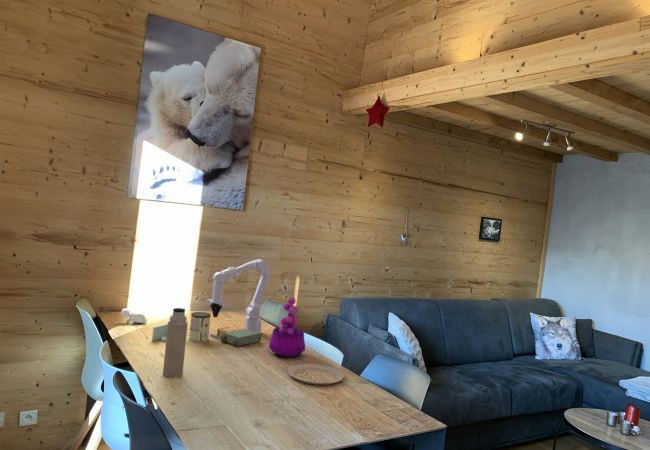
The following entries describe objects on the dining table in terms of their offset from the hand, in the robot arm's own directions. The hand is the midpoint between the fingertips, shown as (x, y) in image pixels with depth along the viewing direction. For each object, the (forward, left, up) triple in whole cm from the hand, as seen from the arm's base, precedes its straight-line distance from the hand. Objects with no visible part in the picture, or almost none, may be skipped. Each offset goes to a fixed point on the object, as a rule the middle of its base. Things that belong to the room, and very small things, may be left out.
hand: (215, 316), depth 276 cm
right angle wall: (+30, -1, -10) cm, 32 cm away
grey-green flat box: (0, +16, -9) cm, 19 cm away
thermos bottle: (+60, +42, -10) cm, 74 cm away
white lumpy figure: (+25, -42, -10) cm, 49 cm away
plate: (+12, +82, -10) cm, 83 cm away
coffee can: (+16, +6, -10) cm, 20 cm away
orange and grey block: (0, +11, -9) cm, 15 cm away
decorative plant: (-3, +52, -10) cm, 53 cm away
